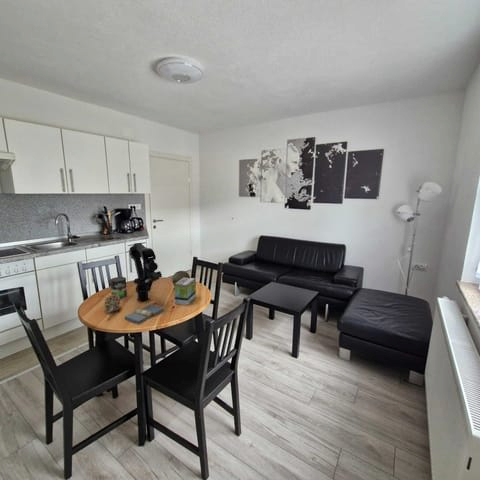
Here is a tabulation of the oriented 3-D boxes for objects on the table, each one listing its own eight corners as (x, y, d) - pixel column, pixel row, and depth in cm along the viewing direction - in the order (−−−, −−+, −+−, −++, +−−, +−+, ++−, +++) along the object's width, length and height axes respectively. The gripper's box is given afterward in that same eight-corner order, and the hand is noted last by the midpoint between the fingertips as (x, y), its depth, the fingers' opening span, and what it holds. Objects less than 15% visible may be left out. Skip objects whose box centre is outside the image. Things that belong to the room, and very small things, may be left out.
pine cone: (106, 306, 169) (105, 292, 168) (121, 304, 173) (120, 290, 171) (101, 321, 149) (100, 305, 147) (119, 319, 152) (118, 303, 151)
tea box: (188, 305, 172) (187, 284, 170) (174, 304, 174) (173, 283, 172) (196, 297, 187) (195, 277, 184) (183, 295, 189) (183, 276, 186)
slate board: (150, 306, 169) (150, 304, 169) (164, 310, 164) (163, 308, 163) (124, 319, 152) (124, 316, 152) (138, 324, 146) (138, 321, 146)
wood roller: (138, 314, 160) (139, 307, 160) (152, 317, 156) (152, 311, 156) (133, 315, 157) (134, 308, 157) (147, 318, 152) (148, 312, 152)
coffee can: (128, 298, 183) (127, 279, 181) (113, 301, 177) (111, 282, 175) (125, 293, 191) (124, 275, 189) (110, 296, 185) (108, 278, 183)
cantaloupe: (171, 287, 205) (170, 269, 202) (188, 285, 211) (187, 267, 208) (174, 293, 192) (173, 274, 190) (192, 291, 198) (192, 272, 196)
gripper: (145, 273, 155) (146, 297, 157) (167, 266, 171) (168, 288, 173) (132, 270, 160) (134, 294, 163) (155, 263, 176) (156, 285, 179)
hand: (149, 290), depth 169 cm, fingers closed
